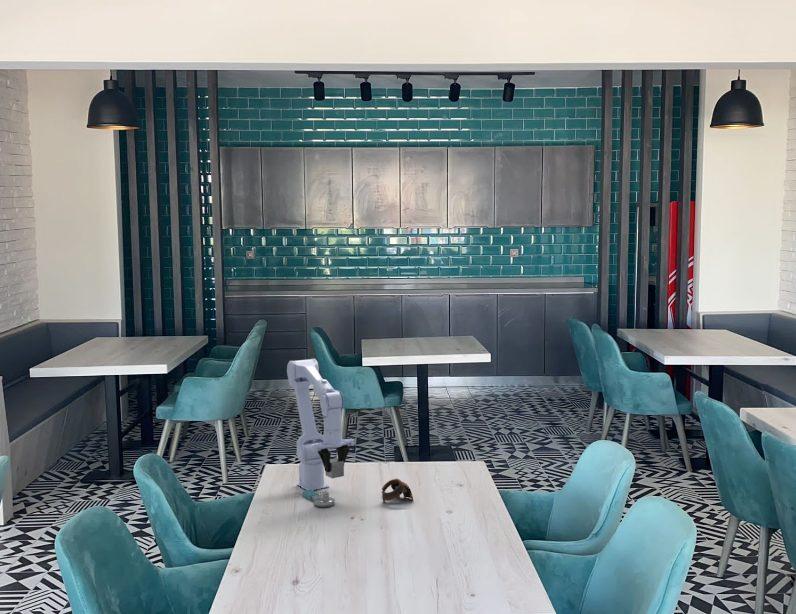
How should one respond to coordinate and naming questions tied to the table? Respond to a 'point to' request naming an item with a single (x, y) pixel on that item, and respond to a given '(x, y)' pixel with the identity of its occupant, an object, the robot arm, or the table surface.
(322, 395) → the robot arm
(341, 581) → the table surface
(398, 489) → the brown openwork dome
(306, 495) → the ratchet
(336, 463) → the socket
